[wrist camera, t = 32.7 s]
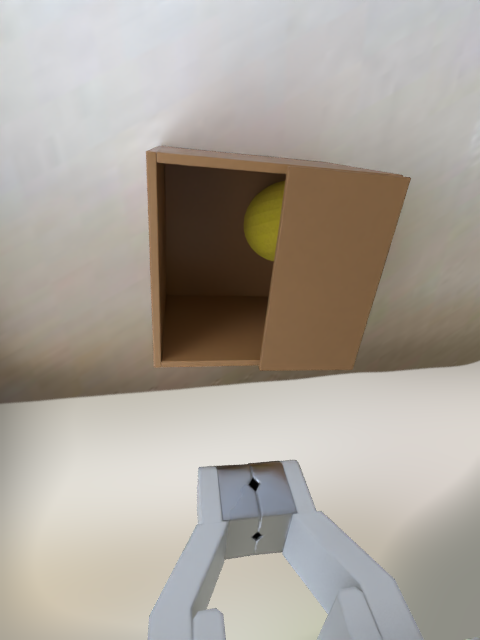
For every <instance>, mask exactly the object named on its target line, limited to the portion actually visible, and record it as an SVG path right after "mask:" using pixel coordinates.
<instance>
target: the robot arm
mask: <svg viewBox="0 0 480 640" xmlns="http://www.w3.org/2000/svg"><path fill="white" fill-rule="evenodd" d="M197 516H198V524H197V525H196V527H195V529H194V531H193V533H192V535H191V537H190V539H189V541H188V543H187V544H186V546H185V548H184V550H183V552H182V554H181V556H180V558H179V560H178V562H177V564H176V566H175V568H174V569H173V571H172V573H171V575H170V577H169V579H168V581H167V583H166V585H165V587H164V589H163V591H162V593H161V594H160V597H159V598H158V600H157V602H156V604H155V606H154V608H153V610H152V612H151V614H150V616H149V628H148V640H226V638H225V627H224V617H223V614H222V613H221V612H220V611H219V610H218V609H217V608H214V609H208V610H206V609H207V606H208V604H209V601H210V598H211V595H212V593H213V590H214V587H215V585H216V582H217V580H218V577H219V574H220V571H221V569H222V566H223V563H224V560H225V559H231V558H238V557H244V556H250V555H259V554H268V553H279V552H283V555H284V557H285V558H286V560H287V561H288V562H289V564H290V565H291V566H292V567H293V569H294V570H295V571H296V573H297V574H298V575H299V577H300V578H301V579H302V581H303V582H304V583H305V584H306V586H307V587H308V589H310V591H311V592H312V594H313V595H314V596H315V598H316V599H317V600H318V601H319V603H320V604H321V605H322V607H323V608H324V610H325V611H326V612H327V614H328V616H327V618H326V621H325V623H324V625H323V627H322V629H321V632H320V634H319V636H318V638H317V640H424V639H423V637H422V635H421V633H420V631H419V629H418V627H417V624H416V622H415V620H414V618H413V616H412V614H411V612H410V610H409V608H408V606H407V604H406V602H405V600H404V598H403V596H402V593H401V591H400V589H399V587H398V585H397V583H396V581H395V579H394V578H393V577H392V576H390V575H389V574H388V573H387V572H386V571H385V570H384V569H383V568H382V567H381V566H380V565H379V564H378V563H377V562H376V561H374V560H373V559H372V558H371V557H370V556H369V555H368V554H367V553H366V552H365V551H364V550H363V549H362V548H360V547H359V546H358V545H357V544H356V543H355V542H354V541H353V540H352V539H351V538H350V537H349V536H348V535H347V534H346V533H344V532H343V531H342V530H341V529H340V528H339V527H338V526H337V525H336V524H335V523H334V522H333V521H332V520H331V519H329V518H328V517H327V516H326V515H325V514H324V513H323V512H322V511H316V508H315V506H314V503H313V500H312V498H311V495H310V492H309V489H308V487H307V484H306V481H305V479H304V476H303V473H302V471H301V468H300V465H299V463H298V462H297V460H287V461H270V462H260V463H249V464H244V465H225V466H207V467H199V468H198V486H197ZM465 640H480V637H475V638H470V639H465Z"/></svg>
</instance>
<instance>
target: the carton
mask: <svg viewBox="0 0 480 640" xmlns="http://www.w3.org/2000/svg"><path fill="white" fill-rule="evenodd" d="M146 163H147V191H148V219H149V247H150V275H151V303H152V331H153V359H154V367H199V366H247V365H259V361H260V354H261V347H262V340H263V334H264V327H265V320H266V313H267V306H268V299H269V292H270V285H271V278H272V271H273V264H274V261H270V260H267V259H265V258H263V257H261V256H259V255H258V254H257V253H256V252H255V251H254V250H253V249H252V248H251V247H250V245H249V244H248V242H247V240H246V237H245V233H244V216H245V213H246V210H247V207H248V206H249V204H250V203H251V201H252V200H253V198H254V197H255V196H256V195H257V194H258V193H260V192H261V191H262V190H264V189H265V188H267V187H268V186H270V185H272V184H275V183H278V182H281V181H285V180H286V173H287V167H288V166H296V167H307V168H317V169H328V170H338V171H349V172H359V173H370V174H381V175H391V176H402V177H403V175H399V174H393V173H387V172H381V171H375V170H369V169H363V168H357V167H351V166H345V165H339V164H333V163H327V162H318V161H308V160H298V159H288V158H277V157H267V156H257V155H247V154H236V153H226V152H216V151H206V150H195V149H185V148H175V147H165V146H158V147H155V148H153V149H151V150H148V151H146Z"/></svg>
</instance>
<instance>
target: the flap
mask: <svg viewBox="0 0 480 640" xmlns="http://www.w3.org/2000/svg"><path fill="white" fill-rule="evenodd" d="M410 180H411V178H410V177H402V176H391V175H381V174H370V173H359V172H349V171H338V170H328V169H317V168H307V167H296V166H288V167H287V173H286V180H285V187H284V194H283V201H282V208H281V215H280V222H279V229H278V236H277V243H276V250H275V257H274V264H273V271H272V278H271V285H270V292H269V299H268V306H267V313H266V320H265V327H264V334H263V340H262V347H261V354H260V361H259V370H260V371H283V370H352V369H353V366H354V363H355V360H356V356H357V353H358V350H359V347H360V343H361V340H362V337H363V333H364V330H365V327H366V324H367V320H368V317H369V314H370V311H371V307H372V304H373V301H374V297H375V294H376V291H377V288H378V284H379V281H380V278H381V275H382V271H383V268H384V265H385V261H386V258H387V255H388V252H389V248H390V245H391V242H392V239H393V235H394V232H395V229H396V225H397V222H398V219H399V216H400V212H401V209H402V206H403V203H404V199H405V196H406V193H407V189H408V186H409V183H410Z"/></svg>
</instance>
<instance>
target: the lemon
mask: <svg viewBox="0 0 480 640" xmlns="http://www.w3.org/2000/svg"><path fill="white" fill-rule="evenodd" d="M284 187H285V181H281V182H278V183H275V184H272V185H270V186H268V187H267V188H265V189H264V190H262V191H261V192H260V193H258V194H257V195H256V196H255V197H254V198H253V200H252V201H251V203H250V204H249V206H248V207H247V210H246V213H245V216H244V233H245V237H246V240H247V242H248V244H249V245H250V247H251V248H252V249H253V250H254V251H255V252H256V253H257V254H258V255H259V256H261V257H263V258H265V259H267V260H270V261H274V257H275V250H276V243H277V236H278V229H279V222H280V215H281V208H282V201H283V194H284Z"/></svg>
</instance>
